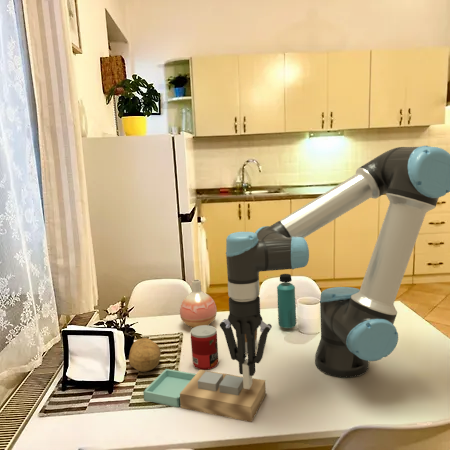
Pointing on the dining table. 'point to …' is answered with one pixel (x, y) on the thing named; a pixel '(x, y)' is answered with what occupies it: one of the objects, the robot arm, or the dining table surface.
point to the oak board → (224, 399)
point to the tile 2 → (231, 385)
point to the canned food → (204, 347)
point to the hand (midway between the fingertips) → (248, 385)
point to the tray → (168, 387)
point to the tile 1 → (210, 381)
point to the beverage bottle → (286, 302)
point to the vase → (197, 307)
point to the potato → (144, 355)
